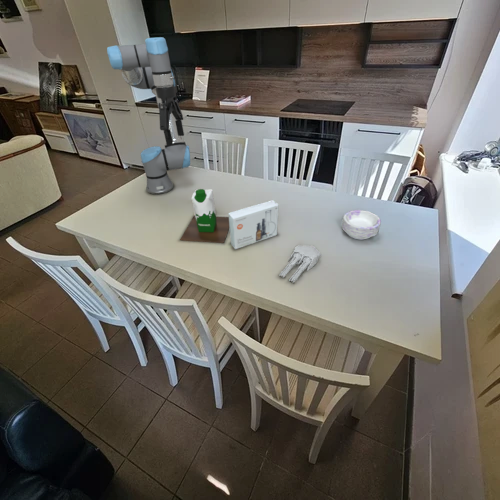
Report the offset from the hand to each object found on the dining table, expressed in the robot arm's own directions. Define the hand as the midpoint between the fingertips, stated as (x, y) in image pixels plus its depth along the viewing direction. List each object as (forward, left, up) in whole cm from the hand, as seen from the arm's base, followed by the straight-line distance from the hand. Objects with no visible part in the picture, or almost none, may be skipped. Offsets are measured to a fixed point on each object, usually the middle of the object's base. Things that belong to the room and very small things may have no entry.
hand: (175, 140), depth 125 cm
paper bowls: (+15, +83, -35) cm, 91 cm away
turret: (+39, +58, -35) cm, 78 cm away
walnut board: (+18, +15, -35) cm, 42 cm away
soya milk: (+18, +15, -34) cm, 42 cm away
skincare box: (+24, +38, -35) cm, 57 cm away
